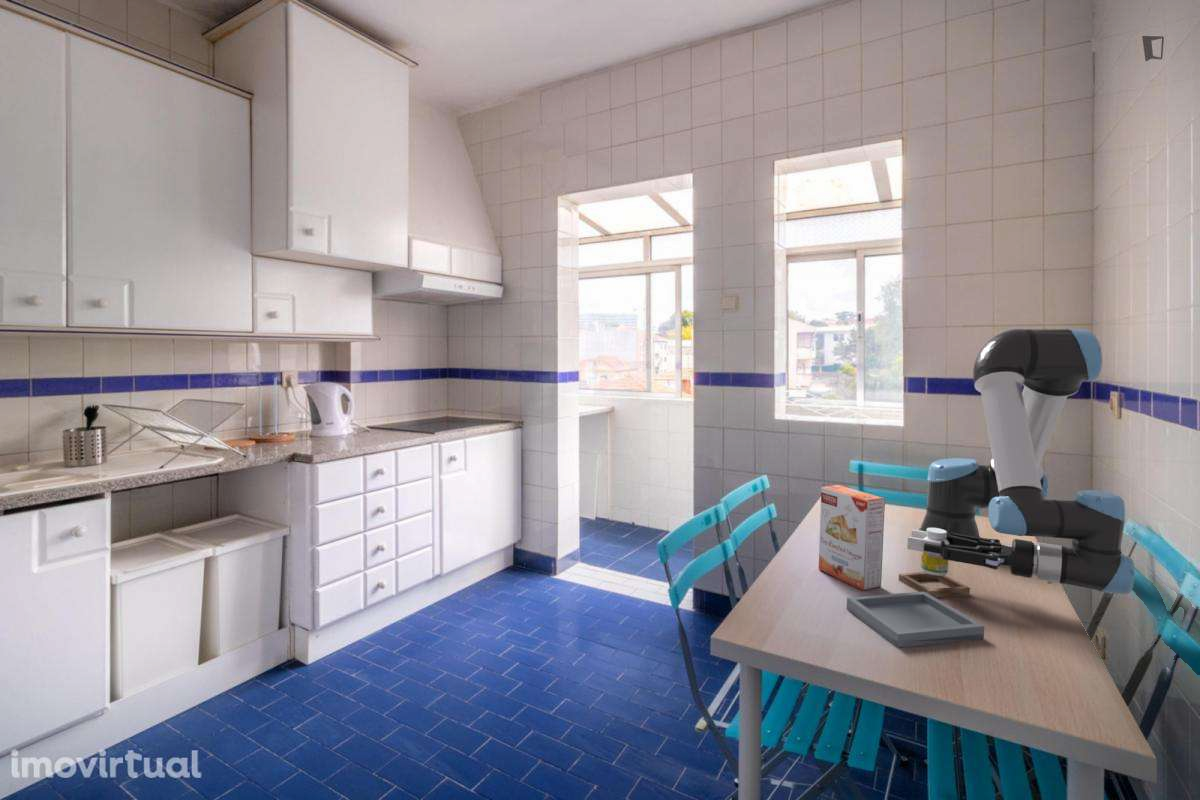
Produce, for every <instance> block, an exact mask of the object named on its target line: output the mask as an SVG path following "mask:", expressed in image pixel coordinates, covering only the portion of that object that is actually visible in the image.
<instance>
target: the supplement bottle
mask: <svg viewBox="0 0 1200 800" xmlns="http://www.w3.org/2000/svg"><path fill="white" fill-rule="evenodd" d="M926 535H927V537H925V538H924V539H926V540H932V541H938V542H941V541H944V542H945V544H948V545H949V542H948V541H947V540H946V537H947V531H945V530H943V529H939V528H927V530H926ZM920 561H921V562H920V569H921V570H922V572H925V573H928V574H931V575H937V576H943V575H946V576H947V574H948V573H949V562H950V560H945V559H943V556H941V555H938V554H932V553H927V552H921V560H920Z"/></svg>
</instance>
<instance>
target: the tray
mask: <svg viewBox="0 0 1200 800" xmlns="http://www.w3.org/2000/svg"><path fill="white" fill-rule="evenodd" d="M846 610H847V611H848V612H849V613H851V615H854V616H855V617H856V618H858V619H859V620H860V621H861V622H863V623H864V624H866V625H867V626H868V627H870V628H871V629H872V630H874V631H875V632H876V633H878V634H879V635H880V636H882V637H883V638H884V639H885V640H886V641H888V642H890V643H891V644H892V645H894V647H897V648H905V647H916V646H917V647H918V646H926V645H935V644H936V645H938V644H945V643H955V642H956V643H957V642H967V641H976V640H977V639H978V640H984V639H983V638H985V629H986V627H985V625H984V624H982V623H980V622H978V621H976V620H974V619H973V618H971V617H969V616H968V615H966V614H964V613H963V612H961V611H959V610H957V609H956V608H954V607H952V606H950V605H948V604H947V603H945V602H944V601H941V600H940V599H938V598H937V597H933V596H931V595H929V594H928V593H926V592H918V591H914V592H913V591H912V592H903V593H901V592H900V593H889V594H888V593H887V594H879V595H878V594H877V595H874V594H873V595H864V596H852V597H850V596H849V597H847V598H846Z"/></svg>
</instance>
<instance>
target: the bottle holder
mask: <svg viewBox="0 0 1200 800" xmlns="http://www.w3.org/2000/svg"><path fill="white" fill-rule="evenodd" d="M929 580H930V581H931V580H937V581H938V582H940V583H942V584H944V585H945V586H948V587H941V588H929V587H927V586H926V585H924V584H922V583H921V582H919V581H929ZM898 581H900V582H901V583H902V584H904V585H907V586H908V587H910V588H911V589H913V590H915V591H916V592H926V593H928V594H929V595H931V596H933V597H935V598H942V597H943V598H946V597H955V596H956V597H958V596H967V595H968V596H969V595H970V592H971V590H970V589H971V588H970V587H969V586H967V585H965V584H963V583H961V582H960V581H957V580H956V579H953V578H951V577H950V576H947V574H946V575H943V576H937V575H931V574H928V573H925V572H924V571H922V572H921V571H920V572H918V571H917V572H908V573H907V572H905V573H899V574H898Z"/></svg>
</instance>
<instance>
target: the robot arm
mask: <svg viewBox="0 0 1200 800" xmlns="http://www.w3.org/2000/svg"><path fill="white" fill-rule="evenodd" d="M1102 353H1103V352H1102V348H1101V344H1100V341H1099V339H1098V337H1097V336H1096V335H1095V334H1094V333H1093V332H1092V331H1090V330H1087V329H1075V328H1066V329H1065V328H1063V329H1062V328H1060V329H1059V328H1057V329H1056V328H1055V329H1054V328H1053V329H1051V328H1049V329H1044V328H1043V329H1042V328H1040V329H1037V328H1035V329H1033V328H1032V329H1031V328H1030V329H1027V328H1026V329H1023V328H1015V329H1009V330H1005V331H1002V332H1000V333H998V334H996V335H995V336H993V337H992V338H990V340H988V341H987V342H986V343H985V344H984V346H983V347H982V348H981V350H980V351H979V353H978V354H977V356H976V359H975V361H974V365H973V371H972V379H973V384H974V385H973V386H974V389H975V390H976V391H977V392H979V393H980V395H981V401H982V407H983V411H984V412H983V413H984V417H985V422H986V423H985V424H986V428H987V434H988V440H989V441H988V442H989V446H990V450H991V457H992V458H991V460H990V463H989V465H985V464H984V465H983V464H982V465H981V464H979V461H977V460H975V459H973V458H962V457H961V458H960V457H954V458H943V459H937V460H935V461H933V462H931V464H930V465H929V467H928V472H927V473H928V474H927V478H926V480H927V493H926V511H925V516H924V517H923V519H922V522H921V525H920V527H919V529H913V528H912V529H911V536H908V537H907V544H906V547H907V548H906V549H907V550H911V551H915V552H921V553H922V552H927V553H932V554H938V555H941V556H943V559H945V560H949V562H950V561H951V562H957V563H961V564H967V565H968V564H969V565H972V566H973V565H974V566H979V567H985V568H989V569H992V570H998V567H1000V566H1007V567H1008V566H1009V567H1010V572H1009V573H1010V574H1011V575H1012V576H1016V577H1017V576H1018V577H1022V578H1028V579H1031V578H1032V577H1033V576H1034V577H1035V579H1036V580H1041V581H1044V582H1045V581H1046V583H1047V584H1048V585H1049V584H1050V585H1052V584H1053V583H1058V584H1062V585H1066V586H1073V587H1077V588H1082V589H1088V590H1090V591H1091V590H1093V591H1097V592H1099V593H1110V594H1115V595H1128V594H1130V593H1132V591H1133V588H1134V584H1135V561H1134V560H1133V558H1131V557H1130V556H1126V555H1124V554H1122V548H1121V547H1122V540H1123V533H1124V526H1125V521H1126V514H1125V513H1126V511H1125V508H1126V507H1125V501H1124V499H1123V497H1121V496H1119V495H1117V494H1115V493H1111V492H1107V491H1101V490H1095V489H1094V490H1093V489H1091V490H1090V489H1087V490H1079V491H1077V492H1076V495H1075V497H1074V500H1063V499H1061V500H1060V499H1047V497H1048V489H1049V479H1048V476H1047V474H1046V472H1045V471H1044V470H1043V468H1042V465H1041V462H1042V460H1043V458H1044V455H1045V452H1046V450H1047V447H1048V445H1049V442H1050V440H1051V437H1052V435H1053V433H1054V430H1055V429H1056V426H1057V422H1058V420H1059V418H1060V415H1061V413H1062V411H1063V409H1064V406H1065V403H1066V400H1067V399H1068V397H1071V396H1073V395H1075V394H1077V393H1078V392H1079V390H1080V388H1081V385H1082V383H1083V382H1086V383H1087V382H1093V381H1095V380H1097V379H1098V378H1099V376H1100V375H1101V372H1102V368H1103V367H1102V366H1103V354H1102ZM1022 387H1023V390H1022ZM976 509H986V510H987V509H988V521H989V524H990V526H991V528H992V529H993V530H994V531H995V532H997V533H999V534H1004V535H1011V536H1018V537H1040V538H1041V537H1042V538H1055V539H1064V540H1065V539H1067V540H1071V545H1072V546H1071V547H1069V546H1064V545H1058V544H1052V543H1047V542H1046V543H1045V542H1041V541H1039V542H1038V543H1036V544H1035V543H1034V542H1033V541H1032V540H1025V539H1019V538H1018V539H1017V538H1014V539H1012V542H1011V543H1012V544H1011V546H1008V545H1005V544H1002V543H1001V541H1000V539H997V538H995V539H994V538H986V537H981V535H980V533H979V528H978V526H977V525H978V524H977V522H976ZM927 528H939V529H943V530H945V531H947V537H946V540H947V541H948V542H949V545H948V544H945V542H944V541H941V542H938V541H932V540H926V539H924V538H925V537H927V535H926V530H927Z"/></svg>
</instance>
